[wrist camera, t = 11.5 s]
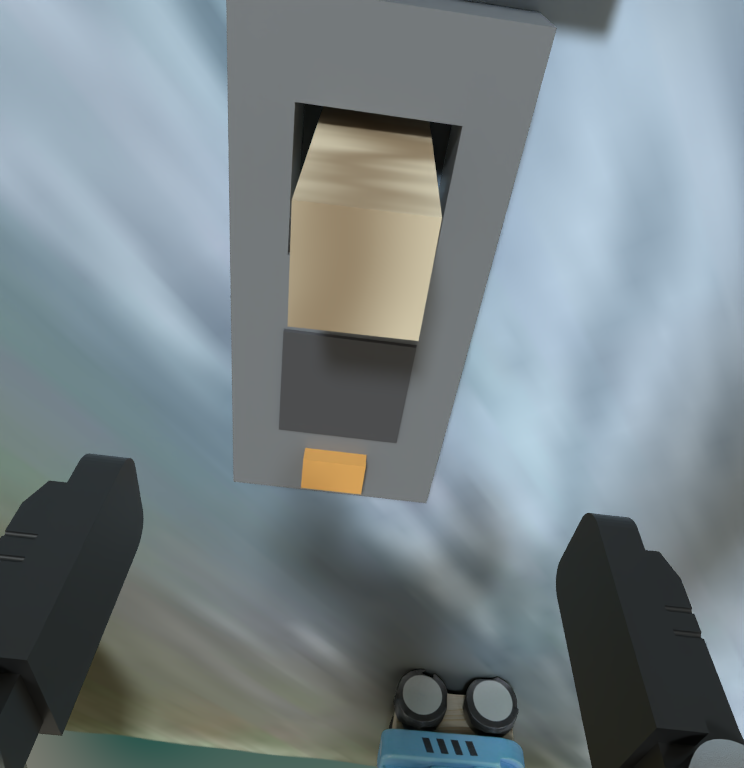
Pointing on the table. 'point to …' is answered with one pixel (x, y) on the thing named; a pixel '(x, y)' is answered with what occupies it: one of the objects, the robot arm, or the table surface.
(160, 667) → the table surface
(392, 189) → the plug peg
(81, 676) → the robot arm
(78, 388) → the table surface
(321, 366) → the power strip
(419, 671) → the toy excavator
